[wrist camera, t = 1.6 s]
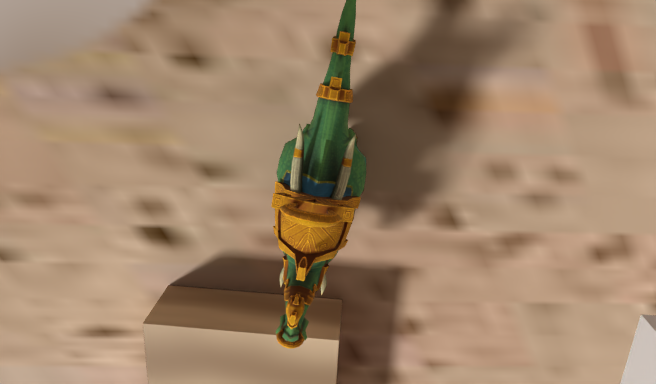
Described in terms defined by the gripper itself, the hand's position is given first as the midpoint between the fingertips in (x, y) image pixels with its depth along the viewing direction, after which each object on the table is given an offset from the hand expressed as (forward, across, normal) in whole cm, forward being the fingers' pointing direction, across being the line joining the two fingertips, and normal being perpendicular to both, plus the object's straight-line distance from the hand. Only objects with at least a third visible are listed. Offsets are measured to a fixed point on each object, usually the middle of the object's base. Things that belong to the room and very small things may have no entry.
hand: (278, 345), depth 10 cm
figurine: (+12, 0, 0) cm, 13 cm away
